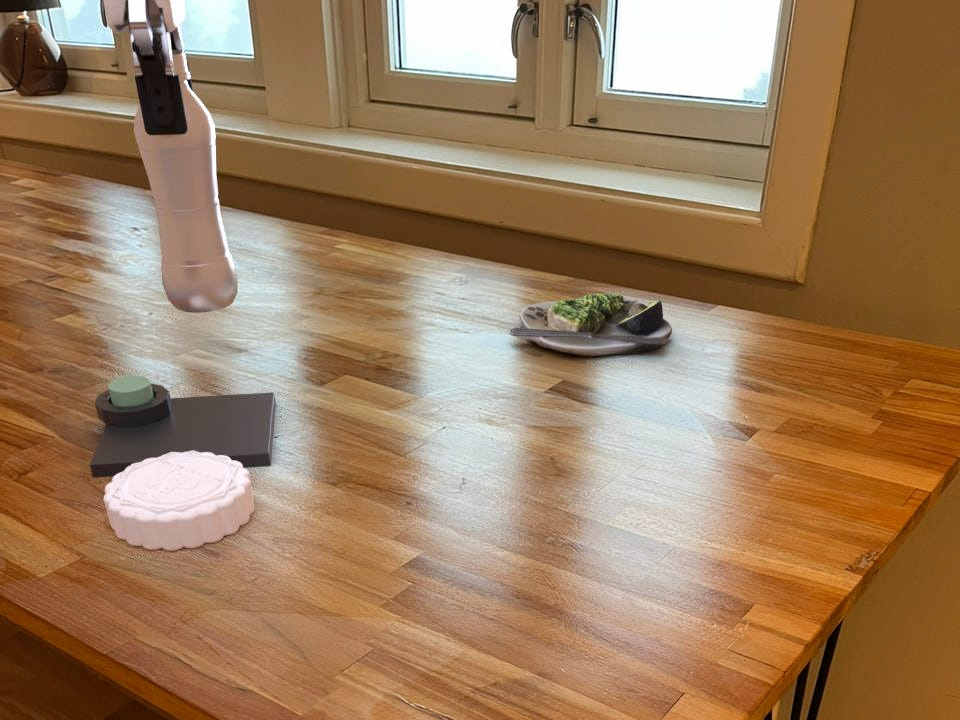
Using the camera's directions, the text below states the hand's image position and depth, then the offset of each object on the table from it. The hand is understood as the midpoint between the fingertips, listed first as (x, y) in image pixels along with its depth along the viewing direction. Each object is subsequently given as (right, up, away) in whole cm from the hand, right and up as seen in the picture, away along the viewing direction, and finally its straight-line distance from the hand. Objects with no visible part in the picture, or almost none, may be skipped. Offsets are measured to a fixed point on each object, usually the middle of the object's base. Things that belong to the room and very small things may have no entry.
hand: (172, 123), depth 78 cm
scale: (-3, -22, +16) cm, 28 cm away
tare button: (-9, -18, +17) cm, 27 cm away
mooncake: (0, -32, +4) cm, 32 cm away
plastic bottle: (0, -12, +9) cm, 15 cm away
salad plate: (+39, -5, +38) cm, 55 cm away
